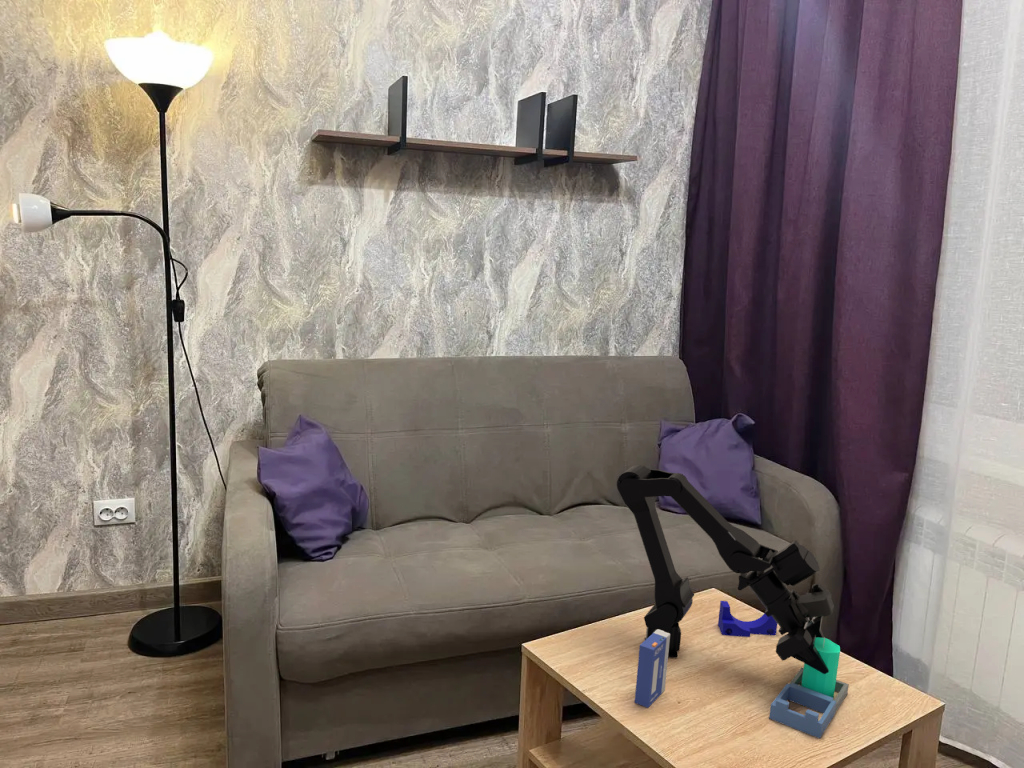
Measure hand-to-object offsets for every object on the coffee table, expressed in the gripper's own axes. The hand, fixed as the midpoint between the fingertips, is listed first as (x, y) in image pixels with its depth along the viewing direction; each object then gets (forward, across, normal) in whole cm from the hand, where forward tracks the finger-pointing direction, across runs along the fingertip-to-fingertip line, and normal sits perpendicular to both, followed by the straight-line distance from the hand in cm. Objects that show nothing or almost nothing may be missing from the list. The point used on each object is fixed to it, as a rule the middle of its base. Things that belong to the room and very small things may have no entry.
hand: (828, 665), depth 154 cm
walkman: (-15, -18, +25) cm, 35 cm away
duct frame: (+3, -4, +6) cm, 8 cm away
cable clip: (-8, +18, +18) cm, 27 cm away
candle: (+4, 0, +6) cm, 7 cm away
